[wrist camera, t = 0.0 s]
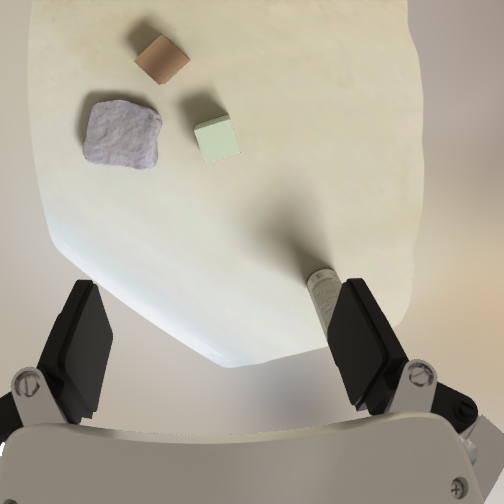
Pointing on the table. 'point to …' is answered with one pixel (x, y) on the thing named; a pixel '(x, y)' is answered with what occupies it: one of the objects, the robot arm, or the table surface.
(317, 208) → the table surface
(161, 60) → the walnut block
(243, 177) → the table surface
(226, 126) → the sage block
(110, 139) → the stone block
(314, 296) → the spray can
